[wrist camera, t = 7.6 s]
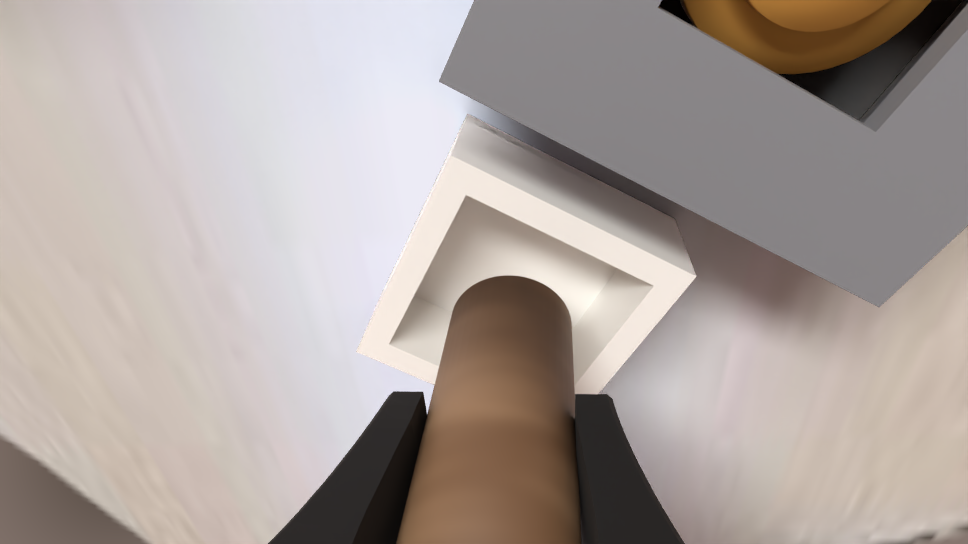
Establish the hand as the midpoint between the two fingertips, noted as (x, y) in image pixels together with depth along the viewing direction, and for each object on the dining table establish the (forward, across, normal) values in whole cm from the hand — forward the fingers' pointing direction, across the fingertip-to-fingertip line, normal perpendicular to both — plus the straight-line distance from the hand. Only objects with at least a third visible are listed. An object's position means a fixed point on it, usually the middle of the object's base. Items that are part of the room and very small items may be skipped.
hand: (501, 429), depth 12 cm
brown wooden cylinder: (+3, 0, 0) cm, 3 cm away
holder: (+7, 0, 0) cm, 7 cm away
